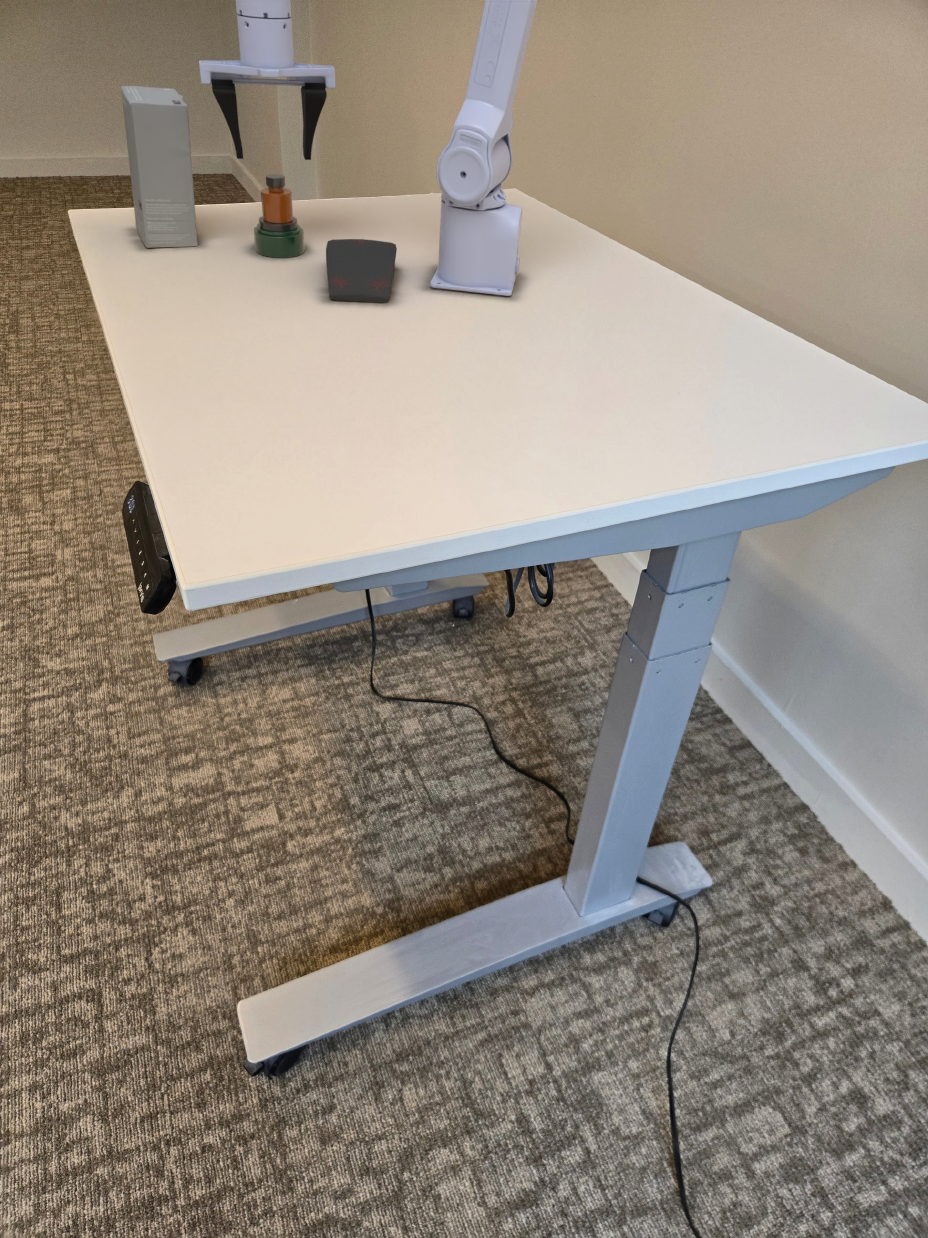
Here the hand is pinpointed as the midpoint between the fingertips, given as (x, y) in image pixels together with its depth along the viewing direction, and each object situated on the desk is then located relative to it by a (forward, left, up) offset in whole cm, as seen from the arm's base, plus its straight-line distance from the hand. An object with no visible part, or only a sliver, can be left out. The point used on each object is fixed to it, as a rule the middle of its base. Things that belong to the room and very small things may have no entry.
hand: (273, 157), depth 101 cm
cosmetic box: (+14, 0, -11) cm, 18 cm away
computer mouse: (-12, +8, -11) cm, 18 cm away
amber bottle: (0, 0, -7) cm, 7 cm away
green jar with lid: (0, 0, -10) cm, 10 cm away
